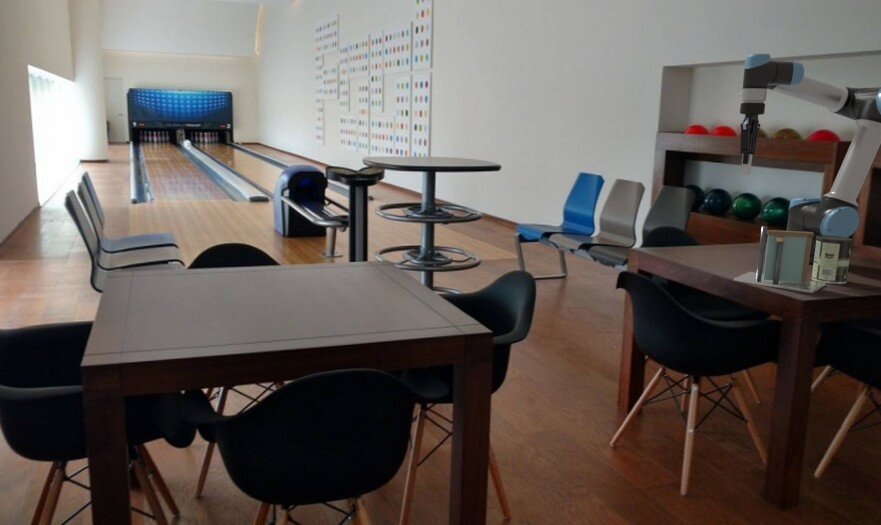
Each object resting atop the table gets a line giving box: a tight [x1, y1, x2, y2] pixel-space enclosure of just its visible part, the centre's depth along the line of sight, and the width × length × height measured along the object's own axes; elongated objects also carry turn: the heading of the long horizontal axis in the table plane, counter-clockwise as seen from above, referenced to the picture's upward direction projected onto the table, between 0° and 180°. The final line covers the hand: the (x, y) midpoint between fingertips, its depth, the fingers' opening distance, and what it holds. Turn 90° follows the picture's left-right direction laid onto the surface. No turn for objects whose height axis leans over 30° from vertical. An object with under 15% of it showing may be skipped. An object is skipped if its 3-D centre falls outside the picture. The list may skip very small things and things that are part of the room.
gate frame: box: [733, 226, 826, 294], centre depth 231 cm, size 15×23×18 cm, turn 50°
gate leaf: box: [762, 229, 814, 282], centre depth 228 cm, size 13×2×15 cm, turn 83°
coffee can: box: [811, 236, 854, 285], centre depth 237 cm, size 10×10×14 cm
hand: (745, 173), depth 249 cm, fingers closed
